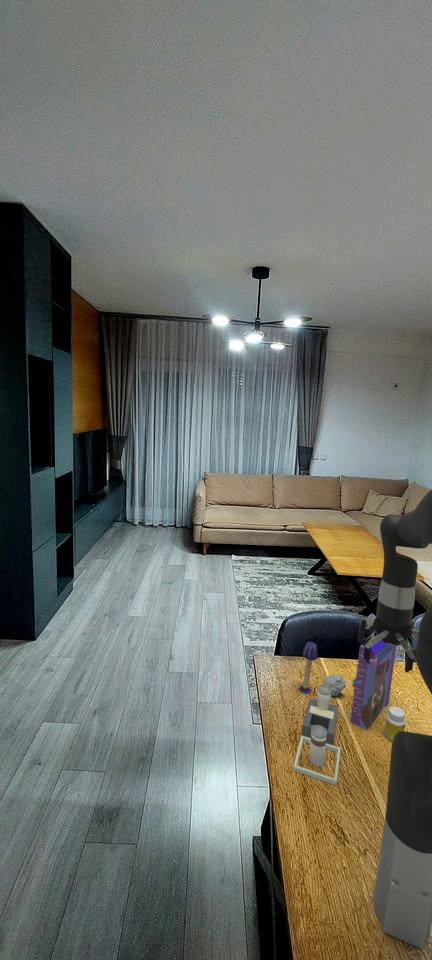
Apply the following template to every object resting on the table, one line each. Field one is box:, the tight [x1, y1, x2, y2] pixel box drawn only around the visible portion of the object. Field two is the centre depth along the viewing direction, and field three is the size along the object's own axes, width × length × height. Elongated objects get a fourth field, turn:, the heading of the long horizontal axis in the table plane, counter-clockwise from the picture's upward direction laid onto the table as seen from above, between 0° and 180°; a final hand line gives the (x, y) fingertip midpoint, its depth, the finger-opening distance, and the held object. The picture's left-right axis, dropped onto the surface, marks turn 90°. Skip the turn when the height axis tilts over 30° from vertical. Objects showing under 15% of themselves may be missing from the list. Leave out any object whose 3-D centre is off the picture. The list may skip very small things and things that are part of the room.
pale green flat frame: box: [292, 734, 342, 786], centre depth 104 cm, size 11×10×2 cm
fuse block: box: [301, 683, 339, 746], centre depth 116 cm, size 12×8×10 cm, turn 159°
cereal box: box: [350, 640, 398, 731], centre depth 122 cm, size 17×5×24 cm, turn 139°
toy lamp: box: [298, 641, 319, 695], centre depth 130 cm, size 5×5×17 cm
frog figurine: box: [322, 673, 347, 697], centre depth 131 cm, size 6×7×7 cm
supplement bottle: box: [383, 706, 406, 743], centre depth 114 cm, size 5×5×8 cm
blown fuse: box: [309, 725, 327, 768], centre depth 104 cm, size 4×4×8 cm
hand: (386, 665), depth 99 cm, fingers open, 8 cm apart
